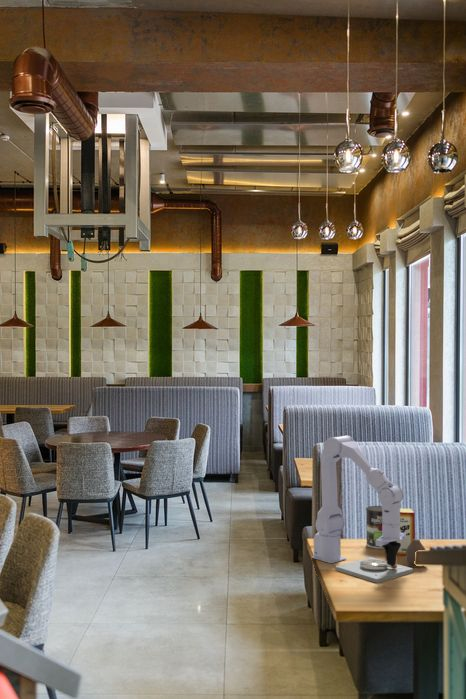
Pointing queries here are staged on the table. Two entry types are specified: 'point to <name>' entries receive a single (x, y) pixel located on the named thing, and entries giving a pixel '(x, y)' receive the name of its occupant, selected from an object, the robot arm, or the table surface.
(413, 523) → the baking soda box
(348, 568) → the board
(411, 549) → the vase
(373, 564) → the dial
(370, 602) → the table surface
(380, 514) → the coffee can
